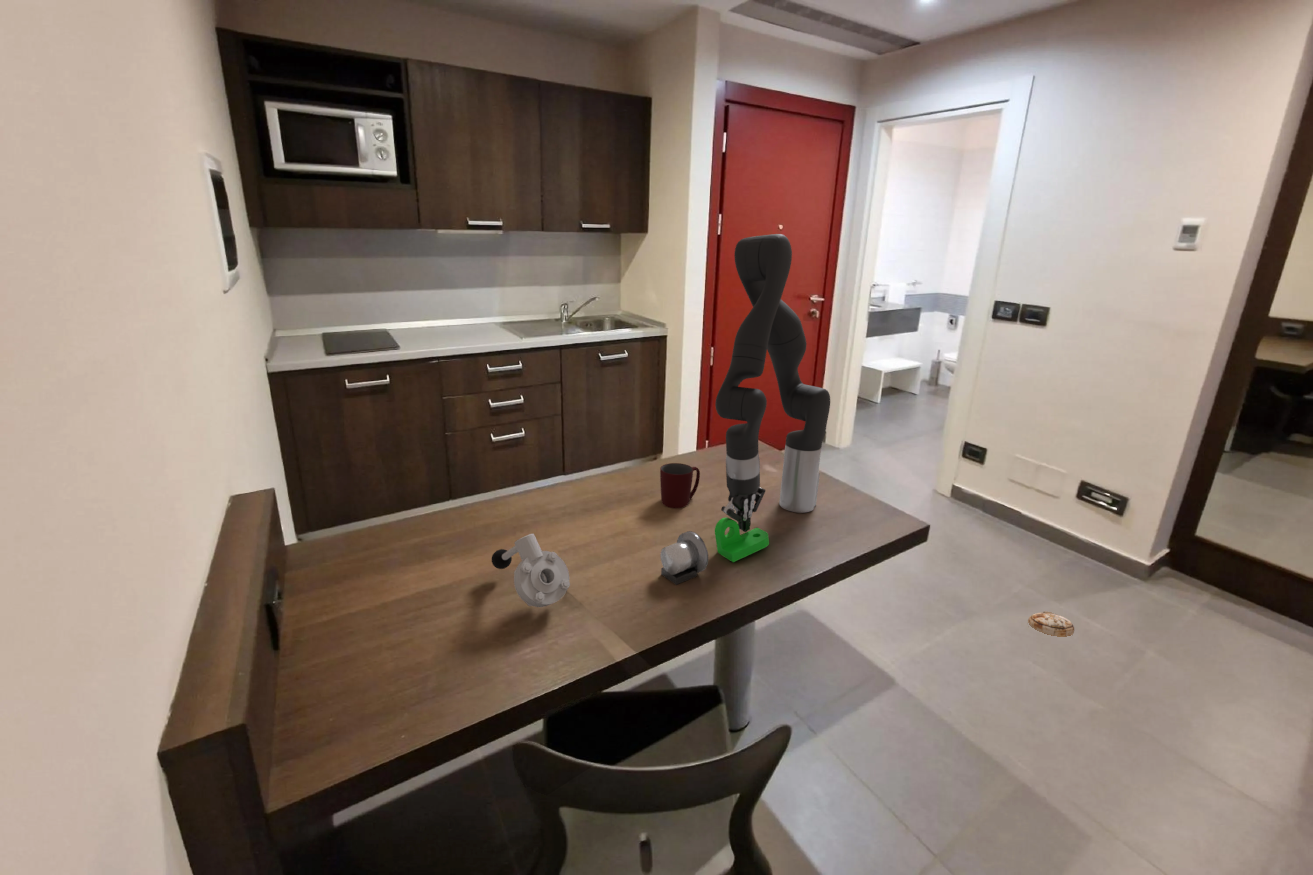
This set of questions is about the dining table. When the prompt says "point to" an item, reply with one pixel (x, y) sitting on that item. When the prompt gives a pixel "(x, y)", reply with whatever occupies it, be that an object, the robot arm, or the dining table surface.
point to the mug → (677, 484)
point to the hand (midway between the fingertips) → (744, 529)
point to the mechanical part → (738, 540)
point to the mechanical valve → (535, 572)
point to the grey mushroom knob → (684, 558)
